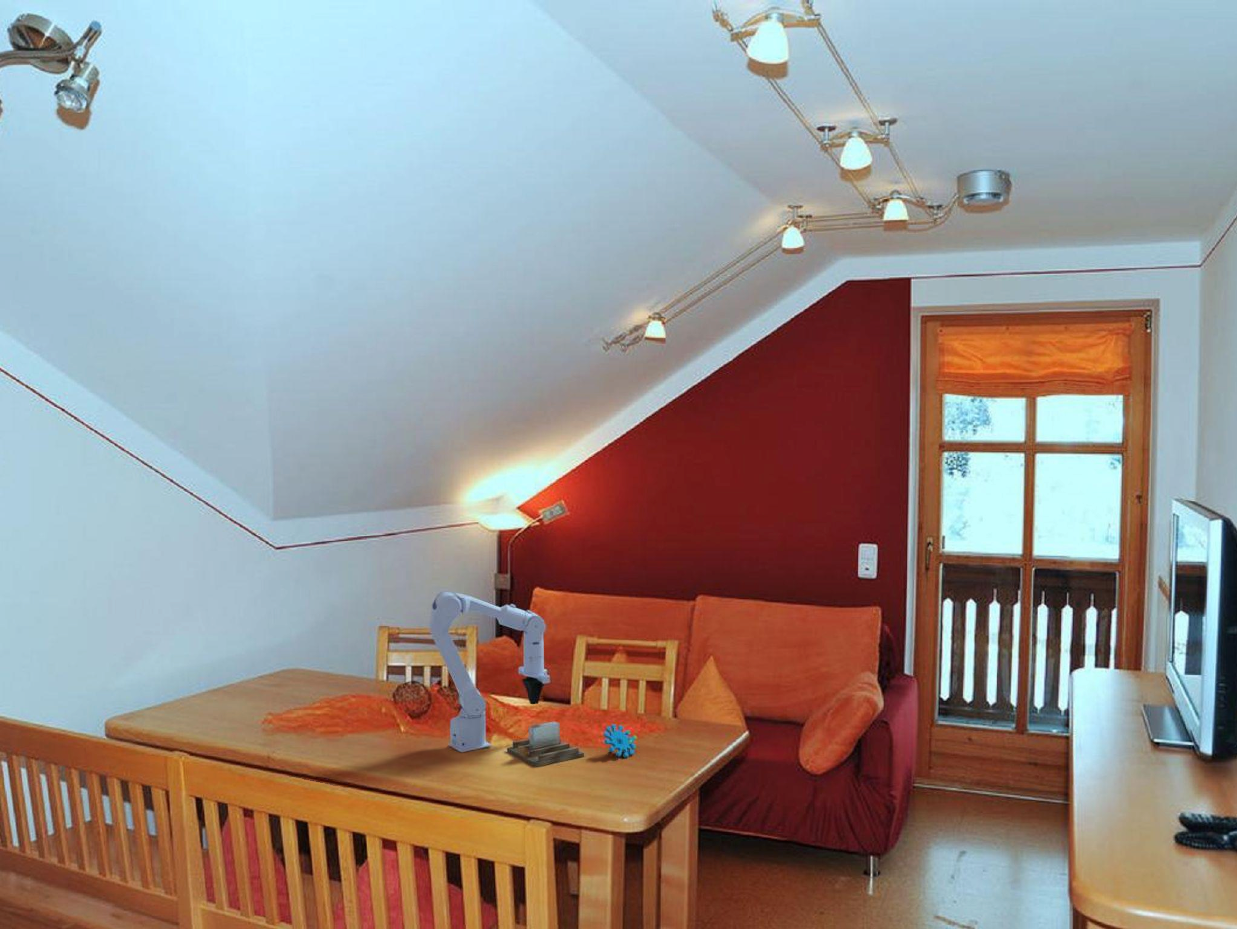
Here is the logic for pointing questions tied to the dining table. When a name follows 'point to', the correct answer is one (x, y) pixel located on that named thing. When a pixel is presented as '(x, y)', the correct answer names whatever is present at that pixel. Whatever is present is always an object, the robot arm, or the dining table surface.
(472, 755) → the dining table surface
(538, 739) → the panel
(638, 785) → the dining table surface
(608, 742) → the gear
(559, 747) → the slot rack
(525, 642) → the robot arm
